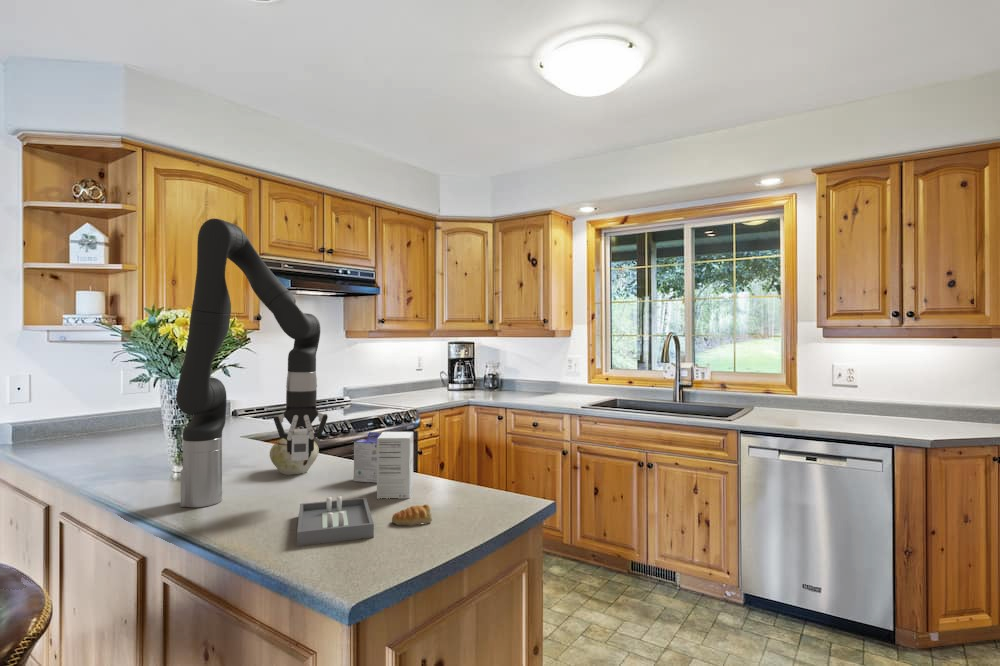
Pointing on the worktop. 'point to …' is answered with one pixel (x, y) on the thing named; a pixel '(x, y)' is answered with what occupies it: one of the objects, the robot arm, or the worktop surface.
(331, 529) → the guide tray
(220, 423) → the robot arm
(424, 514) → the pastry
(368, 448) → the ink cartridge box
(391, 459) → the supplement box
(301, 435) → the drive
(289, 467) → the sugar bowl
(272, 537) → the worktop surface
